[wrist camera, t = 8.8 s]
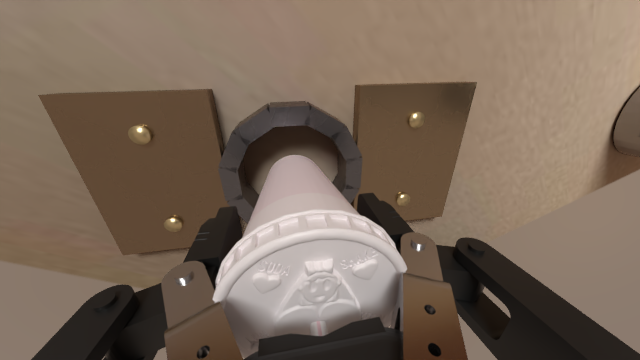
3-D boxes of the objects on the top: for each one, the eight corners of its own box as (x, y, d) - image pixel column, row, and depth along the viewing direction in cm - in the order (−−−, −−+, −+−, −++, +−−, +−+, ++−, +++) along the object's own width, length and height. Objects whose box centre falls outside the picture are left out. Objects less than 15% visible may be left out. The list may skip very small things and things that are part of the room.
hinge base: (465, 81, 18) (491, 83, 16) (434, 209, 23) (450, 224, 21) (56, 93, 14) (14, 97, 12) (131, 245, 19) (112, 267, 17)
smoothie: (252, 221, 16) (179, 678, 4) (240, 135, 14) (-92, 733, 1) (337, 214, 18) (484, 560, 5) (342, 133, 15) (688, 453, 2)
